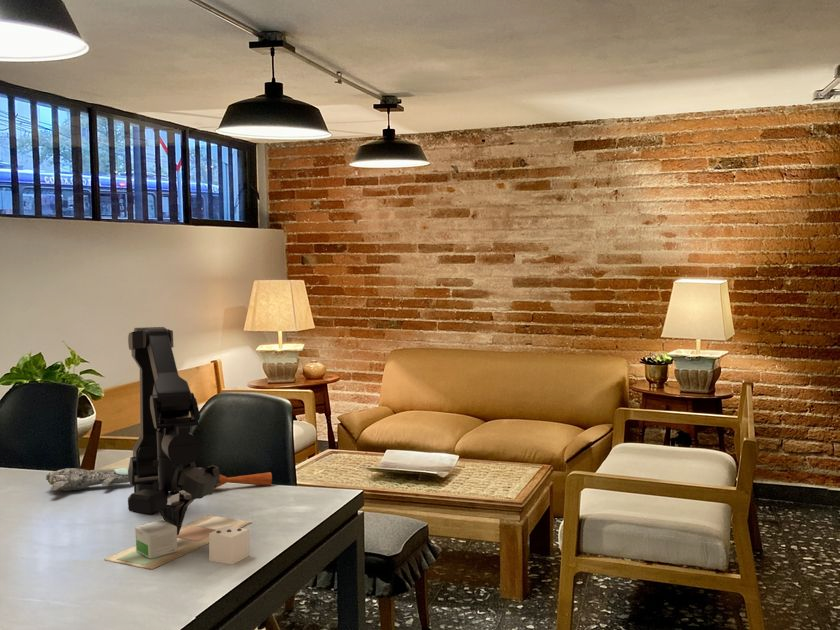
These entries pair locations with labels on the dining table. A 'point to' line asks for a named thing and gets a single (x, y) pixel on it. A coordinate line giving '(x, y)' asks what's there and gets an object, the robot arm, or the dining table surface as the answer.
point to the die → (229, 544)
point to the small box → (156, 539)
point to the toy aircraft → (85, 478)
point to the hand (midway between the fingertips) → (175, 535)
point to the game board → (179, 542)
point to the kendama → (248, 479)
